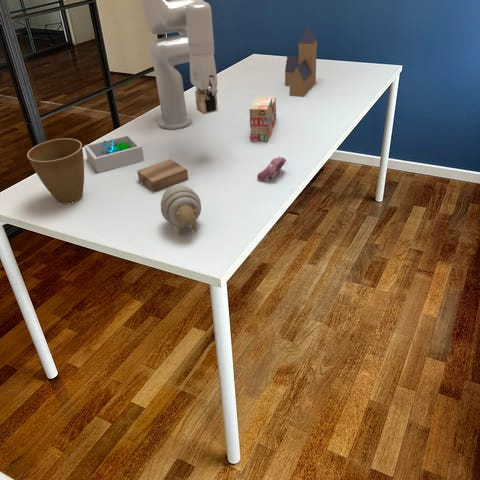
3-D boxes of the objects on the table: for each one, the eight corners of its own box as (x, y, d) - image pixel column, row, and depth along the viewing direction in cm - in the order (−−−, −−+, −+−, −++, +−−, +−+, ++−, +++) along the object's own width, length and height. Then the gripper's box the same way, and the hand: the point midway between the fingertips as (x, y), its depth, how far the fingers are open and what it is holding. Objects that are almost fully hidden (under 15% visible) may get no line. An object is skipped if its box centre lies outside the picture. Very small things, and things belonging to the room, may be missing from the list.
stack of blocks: (260, 119, 188) (259, 88, 181) (276, 120, 187) (276, 88, 180) (250, 142, 171) (249, 108, 164) (268, 142, 170) (267, 108, 163)
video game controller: (267, 187, 147) (275, 170, 142) (255, 178, 147) (263, 161, 142) (282, 173, 153) (291, 157, 148) (270, 165, 154) (279, 149, 149)
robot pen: (87, 159, 167) (84, 145, 164) (131, 147, 173) (129, 134, 170) (97, 173, 158) (94, 159, 155) (144, 160, 164) (141, 146, 161)
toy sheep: (173, 246, 121) (167, 208, 115) (155, 215, 134) (148, 179, 128) (213, 234, 125) (209, 197, 118) (191, 205, 137) (186, 170, 131)
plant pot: (55, 186, 152) (41, 138, 143) (101, 186, 150) (89, 137, 141) (34, 211, 140) (17, 160, 130) (84, 211, 138) (69, 160, 129)
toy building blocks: (315, 83, 221) (317, 24, 206) (303, 97, 207) (304, 35, 192) (289, 81, 225) (289, 24, 211) (275, 94, 211) (274, 34, 197)
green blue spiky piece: (110, 160, 160) (100, 139, 160) (98, 169, 164) (89, 148, 164) (136, 156, 169) (127, 136, 169) (125, 164, 174) (116, 144, 174)
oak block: (196, 109, 155) (194, 91, 151) (210, 106, 156) (209, 87, 153) (203, 114, 151) (201, 95, 148) (217, 110, 153) (216, 92, 149)
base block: (139, 182, 152) (137, 170, 149) (172, 170, 157) (170, 158, 155) (154, 193, 145) (152, 182, 143) (188, 180, 151) (187, 169, 148)
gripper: (178, 45, 148) (185, 103, 158) (202, 57, 135) (208, 119, 146) (200, 41, 150) (205, 98, 161) (226, 52, 138) (230, 113, 149)
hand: (207, 107), depth 153 cm, fingers closed on oak block, 5 cm apart
